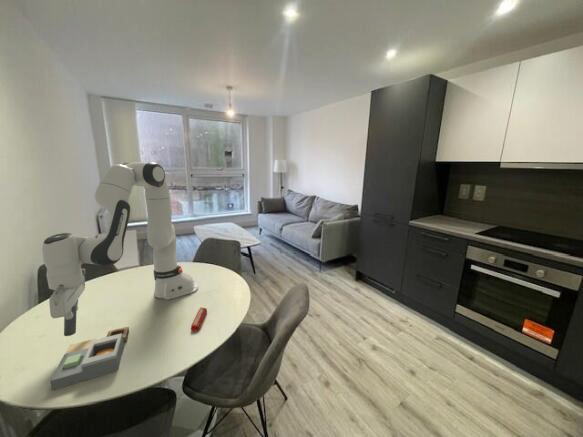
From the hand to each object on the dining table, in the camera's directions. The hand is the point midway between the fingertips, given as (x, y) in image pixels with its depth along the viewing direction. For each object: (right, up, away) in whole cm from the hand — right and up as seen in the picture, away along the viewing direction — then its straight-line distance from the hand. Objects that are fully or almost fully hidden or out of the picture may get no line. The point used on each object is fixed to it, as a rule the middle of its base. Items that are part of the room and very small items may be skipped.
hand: (72, 314), depth 86 cm
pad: (0, -15, +3) cm, 15 cm away
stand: (+10, -14, +9) cm, 19 cm away
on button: (+6, -15, -6) cm, 17 cm away
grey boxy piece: (+10, -17, -4) cm, 20 cm away
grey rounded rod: (-2, -7, +1) cm, 7 cm away
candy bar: (+38, -12, +22) cm, 45 cm away
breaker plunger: (+14, -16, -2) cm, 21 cm away
